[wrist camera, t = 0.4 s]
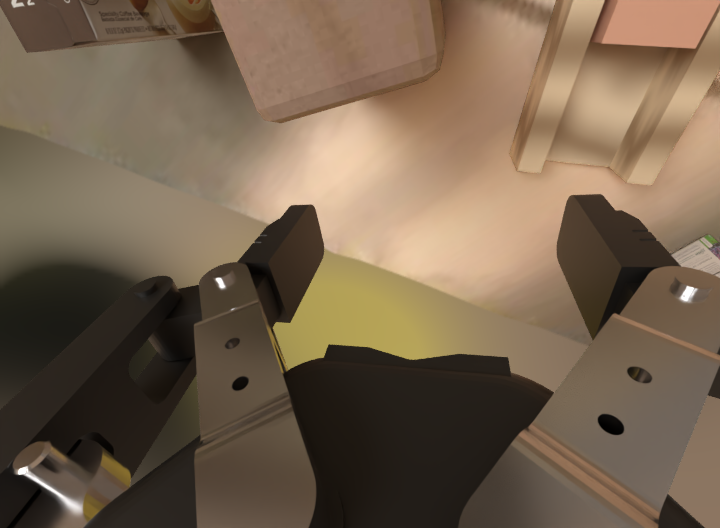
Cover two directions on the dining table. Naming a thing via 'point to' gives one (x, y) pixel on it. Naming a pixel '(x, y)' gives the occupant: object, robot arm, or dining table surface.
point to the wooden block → (330, 50)
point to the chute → (610, 97)
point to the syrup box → (701, 255)
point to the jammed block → (654, 22)
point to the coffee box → (106, 21)
